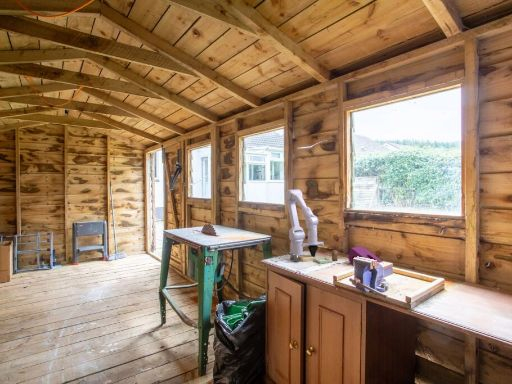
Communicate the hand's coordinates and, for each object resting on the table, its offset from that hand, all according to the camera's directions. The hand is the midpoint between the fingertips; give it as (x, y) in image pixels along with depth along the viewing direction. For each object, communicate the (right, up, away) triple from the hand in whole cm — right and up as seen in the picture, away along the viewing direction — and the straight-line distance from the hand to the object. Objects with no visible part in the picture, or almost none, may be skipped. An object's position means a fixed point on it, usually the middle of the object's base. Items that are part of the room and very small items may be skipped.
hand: (313, 257), depth 185 cm
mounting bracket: (+27, -1, -18) cm, 33 cm away
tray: (+5, -1, -8) cm, 9 cm away
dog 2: (-11, -1, -6) cm, 13 cm away
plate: (-5, -2, -2) cm, 5 cm away
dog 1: (-13, -1, -1) cm, 13 cm away
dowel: (+12, -1, -5) cm, 13 cm away
